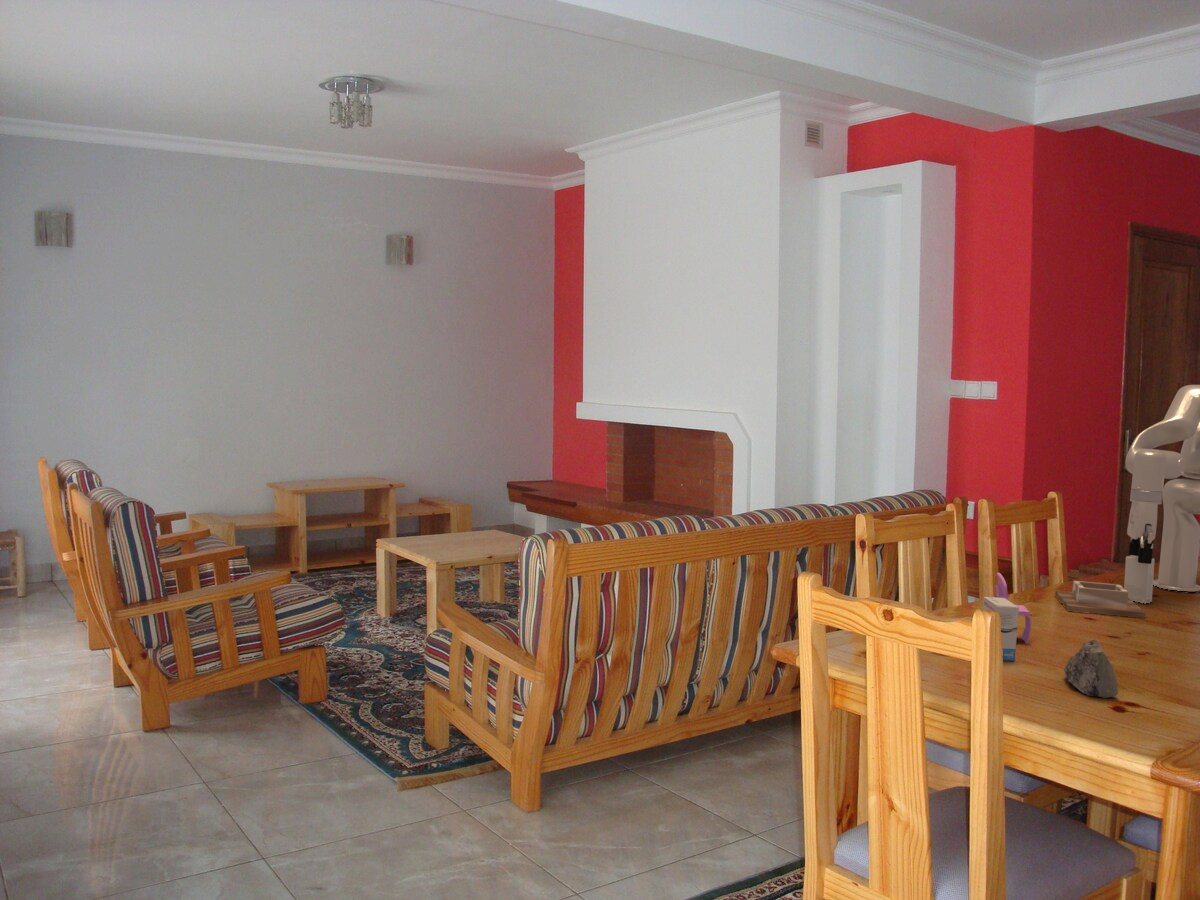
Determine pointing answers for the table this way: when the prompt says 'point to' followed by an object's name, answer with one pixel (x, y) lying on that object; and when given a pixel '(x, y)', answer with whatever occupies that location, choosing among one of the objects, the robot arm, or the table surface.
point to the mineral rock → (1092, 671)
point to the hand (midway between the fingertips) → (1139, 560)
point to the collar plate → (1099, 599)
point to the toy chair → (1002, 593)
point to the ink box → (1005, 623)
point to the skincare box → (1139, 579)
